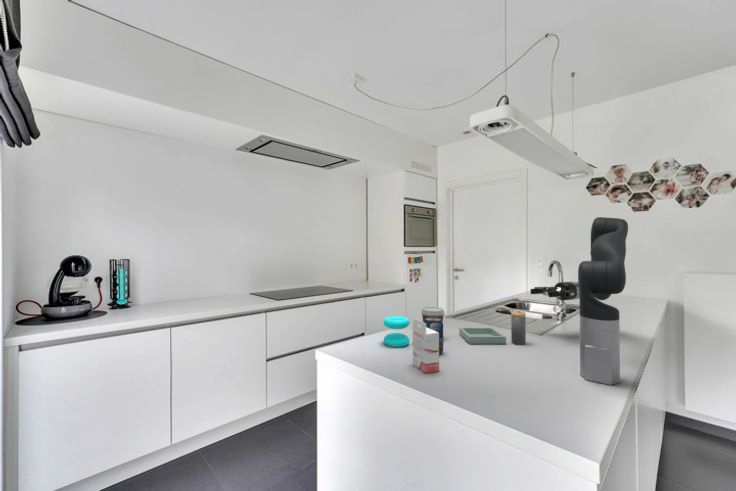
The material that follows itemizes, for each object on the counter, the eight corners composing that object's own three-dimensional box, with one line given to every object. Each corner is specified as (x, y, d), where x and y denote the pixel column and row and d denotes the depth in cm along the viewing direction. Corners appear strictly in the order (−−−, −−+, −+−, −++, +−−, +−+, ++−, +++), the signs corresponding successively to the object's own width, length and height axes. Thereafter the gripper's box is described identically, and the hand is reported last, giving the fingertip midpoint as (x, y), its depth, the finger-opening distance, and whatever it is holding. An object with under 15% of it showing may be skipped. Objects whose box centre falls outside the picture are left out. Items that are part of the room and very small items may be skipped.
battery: (523, 346, 120) (523, 312, 120) (509, 343, 123) (509, 310, 123) (527, 343, 124) (526, 310, 124) (513, 340, 127) (513, 308, 127)
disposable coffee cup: (417, 336, 134) (417, 307, 134) (437, 334, 137) (437, 306, 137) (428, 342, 125) (427, 312, 125) (449, 340, 128) (449, 310, 128)
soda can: (442, 356, 108) (442, 321, 108) (422, 354, 111) (421, 320, 111) (444, 350, 115) (444, 317, 115) (425, 348, 117) (424, 316, 117)
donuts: (390, 314, 130) (413, 317, 125) (390, 339, 130) (413, 342, 125) (378, 319, 122) (402, 322, 116) (378, 345, 121) (402, 349, 116)
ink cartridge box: (440, 371, 96) (440, 322, 96) (425, 373, 94) (425, 324, 94) (425, 361, 104) (425, 316, 104) (411, 363, 102) (411, 318, 102)
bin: (506, 344, 122) (506, 336, 122) (469, 344, 122) (469, 336, 122) (492, 334, 136) (492, 327, 136) (459, 334, 136) (459, 327, 136)
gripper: (554, 280, 139) (525, 281, 134) (586, 283, 126) (555, 285, 121) (554, 297, 139) (525, 299, 134) (586, 302, 126) (555, 305, 121)
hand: (539, 293), depth 127 cm, fingers open, 8 cm apart
